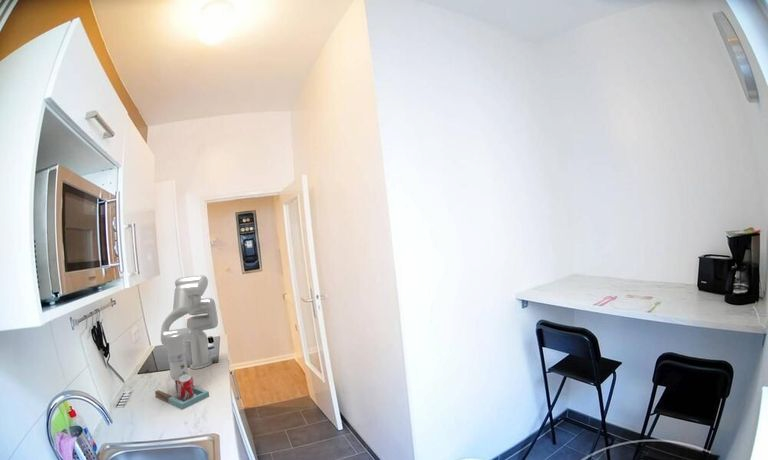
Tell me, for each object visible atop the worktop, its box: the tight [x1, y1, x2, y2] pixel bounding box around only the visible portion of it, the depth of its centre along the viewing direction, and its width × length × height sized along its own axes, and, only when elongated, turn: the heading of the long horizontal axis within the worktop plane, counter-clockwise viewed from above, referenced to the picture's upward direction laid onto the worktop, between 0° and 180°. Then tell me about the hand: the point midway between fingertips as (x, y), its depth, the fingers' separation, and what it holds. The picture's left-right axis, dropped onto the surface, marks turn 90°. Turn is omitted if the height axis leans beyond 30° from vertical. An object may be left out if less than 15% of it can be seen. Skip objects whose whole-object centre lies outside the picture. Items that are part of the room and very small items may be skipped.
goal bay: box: [168, 386, 210, 410], centre depth 176 cm, size 13×14×2 cm
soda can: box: [176, 373, 195, 402], centre depth 175 cm, size 7×7×12 cm
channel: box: [154, 384, 196, 404], centre depth 184 cm, size 13×14×3 cm
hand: (180, 392), depth 179 cm, fingers closed
